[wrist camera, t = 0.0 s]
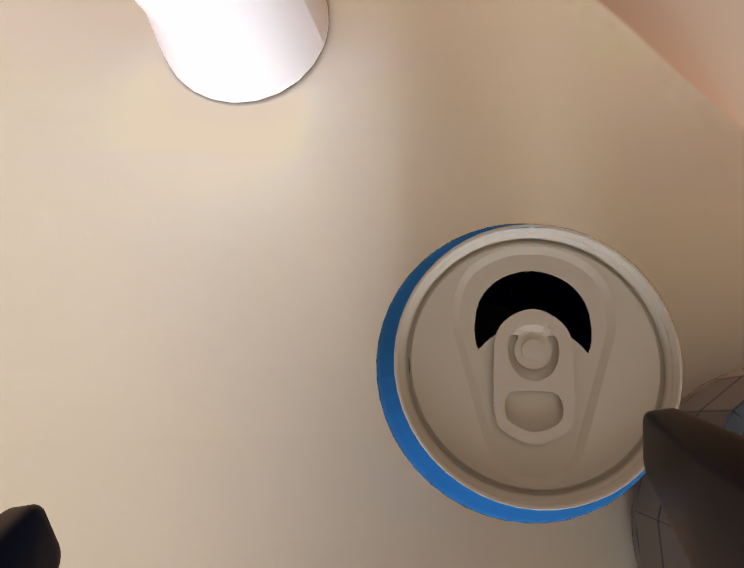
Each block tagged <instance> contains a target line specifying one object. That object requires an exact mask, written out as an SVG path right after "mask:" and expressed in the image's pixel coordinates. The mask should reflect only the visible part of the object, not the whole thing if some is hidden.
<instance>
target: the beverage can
mask: <svg viewBox="0 0 744 568" xmlns="http://www.w3.org/2000/svg"><path fill="white" fill-rule="evenodd" d="M376 363H377V384H378V390H379V397H380V401H381V405H382V408H383V412H384V415H385V418H386V421H387V423H388V425H389V428H390V430H391V432H392V434H393V437H394V438H395V440H396V442H397V443H398V445H399V447H400V448H401V450H402V452H403V453H404V455H405V456H406V457H407V459H408V460H409V461H410V462H411V464H412V465H413V466H414V468H415V469H416V470H417V471H418V472H419V473H420V474H421V475H422V476H423V477H424V478H425V479H426V480H427V481H428V482H429V483H430V484H431V485H433V486H434V487H435V488H437V489H438V490H439V491H440V492H442V493H443V494H444V495H446V496H447V497H449V498H450V499H452V500H454V501H456V502H457V503H459V504H461V505H463V506H464V507H466V508H469V509H471V510H474V511H476V512H478V513H481V514H483V515H486V516H490V517H494V518H498V519H501V520H505V521H513V522H521V523H549V522H556V521H563V520H568V519H572V518H575V517H578V516H582V515H585V514H588V513H590V512H592V511H594V510H597V509H599V508H601V507H603V506H605V505H607V504H609V503H610V502H612V501H613V500H615V499H616V498H618V497H619V496H621V495H622V494H624V493H625V492H626V491H627V490H628V489H630V488H631V487H632V486H633V485H634V484H635V483H636V482H638V481H639V480H640V478H641V477H642V476H643V475H644V474H645V473H646V471H645V467H644V462H643V417H644V414H645V413H646V412H648V411H652V410H659V409H665V408H676V409H678V408H679V405H680V399H681V392H682V380H683V365H682V357H681V350H680V344H679V341H678V337H677V333H676V329H675V326H674V324H673V322H672V319H671V317H670V314H669V312H668V310H667V308H666V306H665V304H664V303H663V301H662V299H661V297H660V295H659V294H658V292H657V291H656V290H655V288H654V287H653V286H652V284H651V283H650V282H649V280H648V279H647V278H646V277H645V276H644V275H643V274H642V273H641V271H640V270H639V269H638V268H637V267H636V266H635V265H634V264H633V263H631V262H630V261H629V260H628V259H626V258H625V257H624V256H623V255H622V254H620V253H619V252H617V251H616V250H614V249H613V248H611V247H610V246H608V245H606V244H605V243H603V242H601V241H599V240H597V239H595V238H593V237H590V236H588V235H586V234H583V233H580V232H577V231H574V230H571V229H567V228H562V227H557V226H552V225H540V224H505V225H499V226H493V227H487V228H484V229H481V230H477V231H474V232H471V233H468V234H466V235H463V236H461V237H459V238H457V239H455V240H452V241H451V242H449V243H447V244H446V245H444V246H442V247H441V248H439V249H437V250H436V251H435V252H433V253H432V254H431V255H430V256H428V257H427V258H426V259H425V260H423V261H422V262H421V263H420V264H419V265H418V266H417V267H416V268H415V269H414V271H413V272H412V273H411V274H410V275H409V276H408V277H407V279H406V280H405V281H404V283H403V284H402V286H401V287H400V288H399V290H398V291H397V293H396V295H395V297H394V299H393V301H392V302H391V304H390V306H389V309H388V311H387V314H386V317H385V319H384V322H383V325H382V329H381V333H380V337H379V341H378V350H377V360H376Z"/></svg>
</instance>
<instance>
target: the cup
mask: <svg viewBox="0 0 744 568" xmlns="http://www.w3.org/2000/svg"><path fill="white" fill-rule="evenodd" d="M135 2H136V3H137V4H138V5H139V6H140V7H141V8H142V9H143V10H144V11H145V12H146V14H147V17H148V19H149V22H150V25H151V27H152V30H153V32H154V35H155V37H156V40H157V43H158V45H159V47H160V49H161V51H162V53H163V55H164V57H165V59H166V61H167V63H168V64H169V66H170V67H171V69H172V70H173V72H174V74H175V75H176V77H177V78H178V79H179V80H180V81H182V82H183V83H184V84H185V85H186V86H188V87H189V88H190V89H191V90H192V91H194V92H196V93H199V94H201V95H203V96H206V97H208V98H210V99H212V100H219V101H225V102H232V103H238V102H249V101H258V100H261V99H264V98H267V97H269V96H272V95H275V94H278V93H280V92H282V91H283V90H285V89H286V88H288V87H290V86H291V85H293V84H294V83H296V82H297V81H299V80H300V79H301V78H302V77H303V75H304V74H305V73H306V72H307V71H308V70H309V69H310V68H311V67H312V66H313V65H314V63H315V62H316V60H317V58H318V56H319V54H320V53H321V51H322V49H323V47H324V45H325V41H326V36H327V32H328V28H329V16H328V5H327V2H326V0H135Z"/></svg>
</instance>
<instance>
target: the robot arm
mask: <svg viewBox="0 0 744 568" xmlns="http://www.w3.org/2000/svg"><path fill="white" fill-rule="evenodd" d="M643 462H644V467H645V471H646V474H647V476H648V478H649V481H650V483H651V485H652V487H653V489H654V491H655V493H656V495H657V497H658V499H659V501H660V504H661V506H662V508H663V510H664V512H665V514H666V516H667V518H668V520H669V522H670V524H671V527H672V529H673V531H674V533H675V535H676V537H677V539H678V541H679V543H680V545H681V547H682V550H683V552H684V554H685V556H686V558H687V560H688V562H689V564H690V566H691V568H744V436H741V435H739V434H737V433H734V432H732V431H729V430H727V429H725V428H722V427H720V426H717V425H715V424H712V423H710V422H708V421H705V420H703V419H700V418H698V417H696V416H693V415H691V414H688V413H686V412H684V411H681V410H679V409H676V408H665V409H659V410H652V411H648V412H646V413H645V414H644V417H643ZM60 558H61V551H60V546H59V543H58V541H57V539H56V536H55V534H54V532H53V529H52V527H51V525H50V522H49V520H48V518H47V515H46V513H45V511H44V509H43V508H42V507H41V506H39V505H36V504H33V505H27V506H20V507H13V508H10V509H8V510H6V511H4V512H3V513H1V514H0V568H59V564H60Z"/></svg>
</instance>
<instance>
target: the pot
mask: <svg viewBox="0 0 744 568" xmlns="http://www.w3.org/2000/svg"><path fill="white" fill-rule="evenodd" d="M678 409H679V410H681V411H684V412H686V413H688V414H691V415H693V416H696V417H698V418H700V419H703V420H705V421H708V422H710V423H712V424H715V425H717V426H720V427H722V428H725V429H727V430H729V431H732V432H734V433H737V434H739V435H741V436H744V368H741V369H738V370H735V371H732V372H730V373H727V374H724V375H721V376H719V377H717V378H715V379H713V380H711V381H709V382H707V383H705V384H703V385H702V386H701V387H699V388H698V389H696V390H695V391H693V392H692V393H691V394H689V395H688V396H686V397H685V398H684V399H683V400H682V401H681V402H680V405H679V408H678ZM632 536H633V543H634V550H635V556H636V560H637V564H638V567H639V568H691V566H690V564H689V562H688V560H687V558H686V556H685V554H684V552H683V550H682V547H681V545H680V543H679V541H678V539H677V537H676V535H675V533H674V531H673V529H672V527H671V524H670V522H669V520H668V518H667V516H666V514H665V512H664V510H663V508H662V506H661V504H660V501H659V499H658V497H657V495H656V493H655V491H654V489H653V487H652V485H651V483H650V481H649V478H648V476H647V474H646V473H645V474H644V475H643V476H642V477H641V478H640V480H639V481H638V482H636V483H635V485H634V492H633V501H632Z"/></svg>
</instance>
